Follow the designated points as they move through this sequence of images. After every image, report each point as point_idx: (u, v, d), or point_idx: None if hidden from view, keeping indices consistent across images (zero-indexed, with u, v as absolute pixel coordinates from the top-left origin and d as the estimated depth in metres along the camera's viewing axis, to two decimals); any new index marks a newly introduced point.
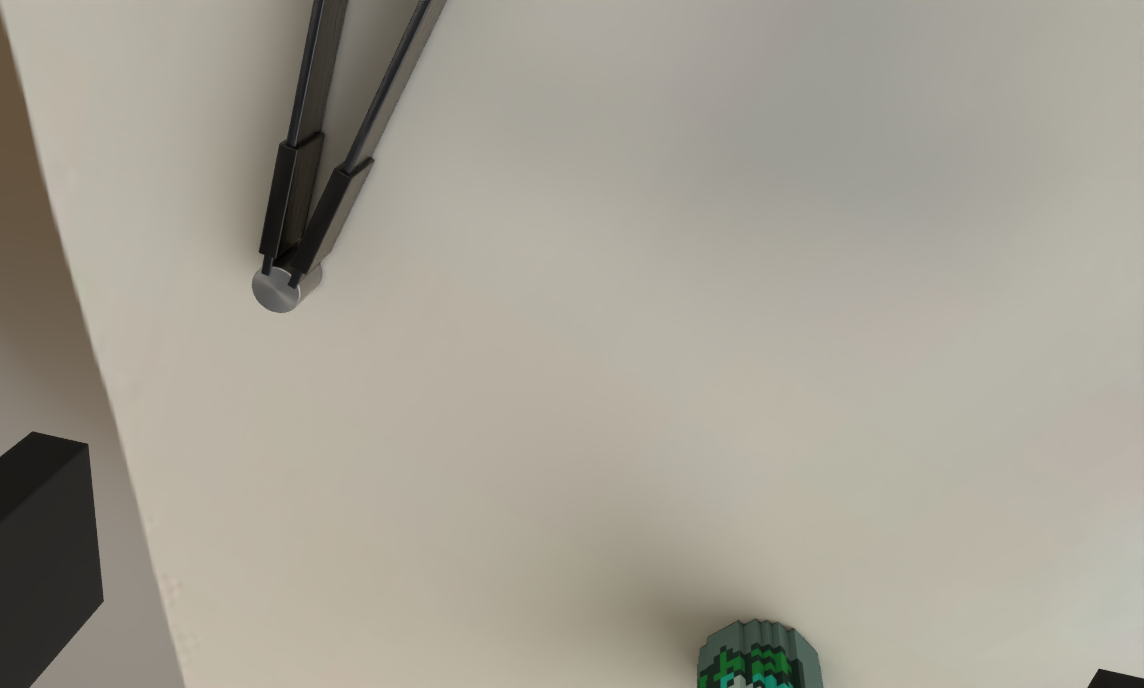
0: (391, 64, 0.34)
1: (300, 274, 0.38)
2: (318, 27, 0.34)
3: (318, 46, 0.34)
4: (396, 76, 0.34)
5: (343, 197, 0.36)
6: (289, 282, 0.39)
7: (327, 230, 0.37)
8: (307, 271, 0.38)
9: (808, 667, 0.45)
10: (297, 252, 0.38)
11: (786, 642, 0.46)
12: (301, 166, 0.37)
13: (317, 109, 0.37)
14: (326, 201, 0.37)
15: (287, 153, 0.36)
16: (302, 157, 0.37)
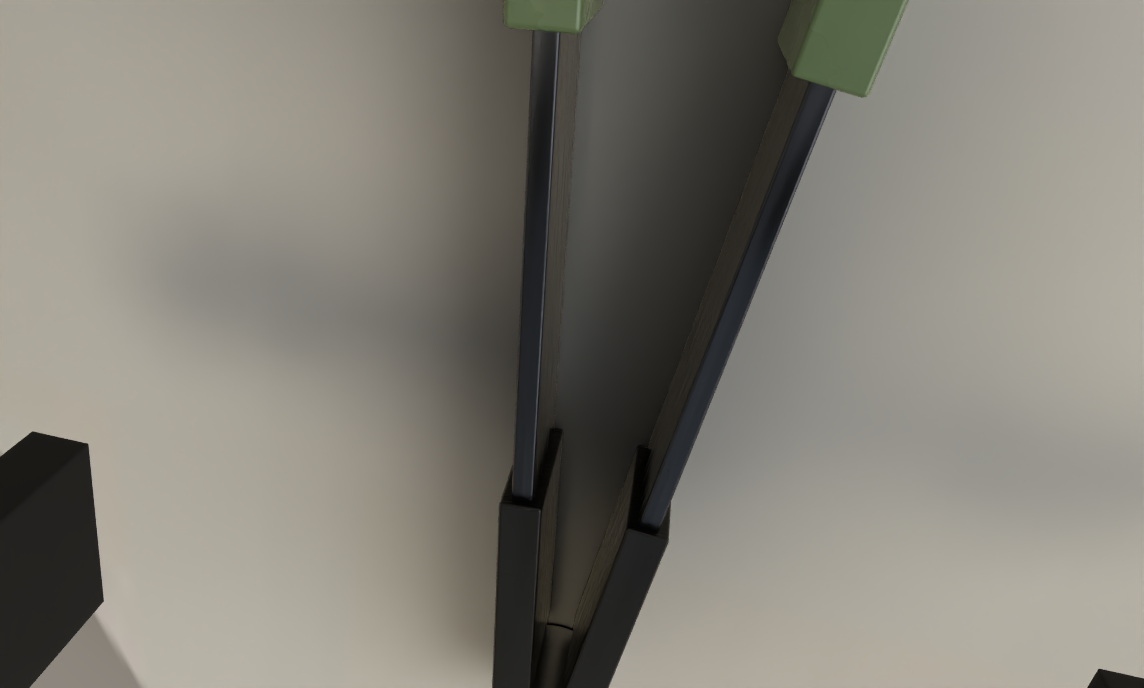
0: (730, 296, 0.14)
1: None
2: (545, 256, 0.14)
3: (547, 292, 0.15)
4: (743, 317, 0.14)
5: (652, 576, 0.17)
6: None
7: (626, 639, 0.18)
8: None
9: None
10: (571, 687, 0.18)
11: None
12: (546, 524, 0.17)
13: (550, 399, 0.17)
14: (618, 591, 0.17)
15: (520, 520, 0.16)
16: (546, 508, 0.17)
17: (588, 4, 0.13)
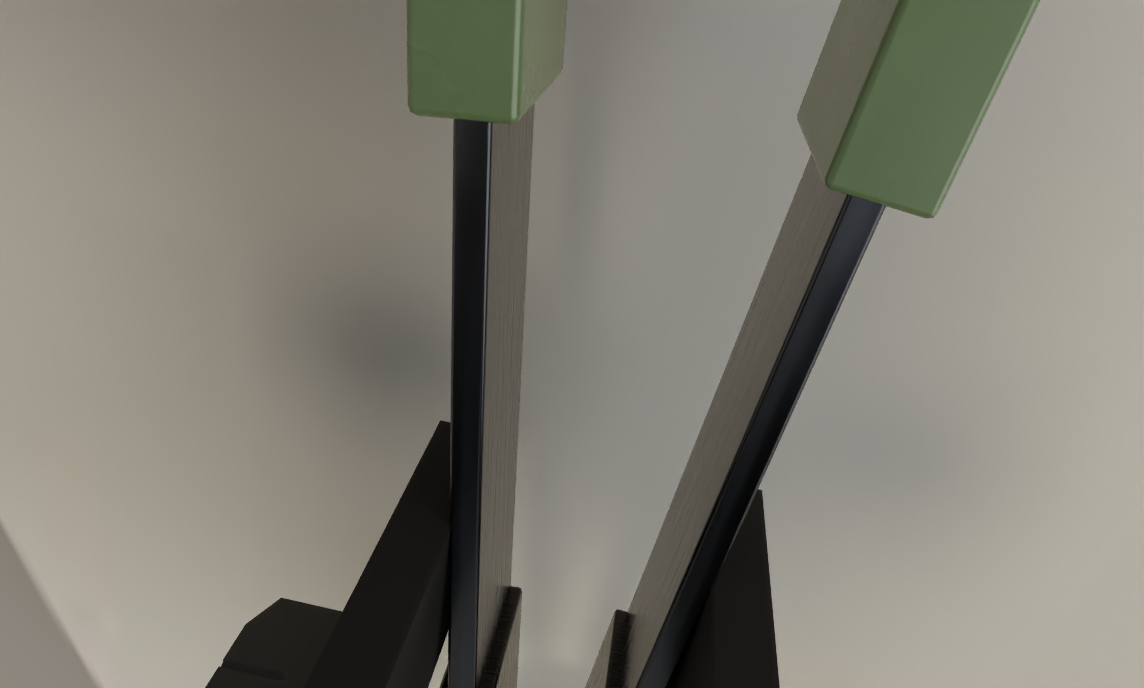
0: (735, 470, 0.10)
1: None
2: (481, 413, 0.10)
3: (489, 453, 0.11)
4: None
5: None
6: None
7: None
8: None
9: None
10: None
11: None
12: None
13: (502, 563, 0.14)
14: None
15: None
16: None
17: (533, 79, 0.09)
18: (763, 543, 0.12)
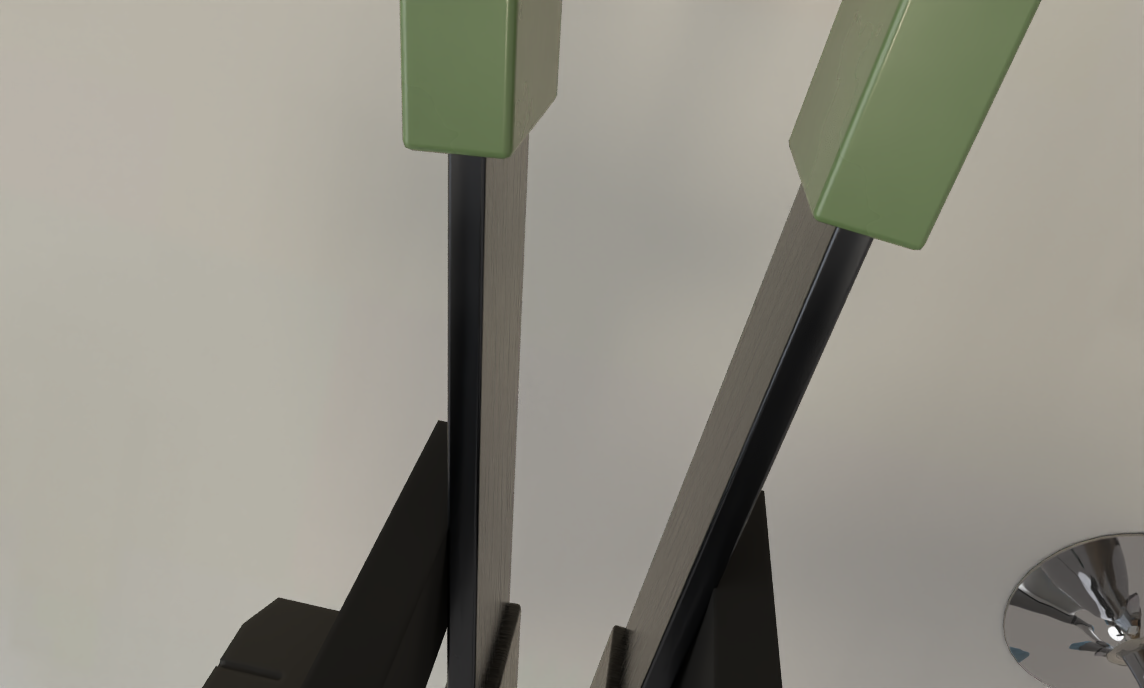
0: (728, 494, 0.10)
1: None
2: (477, 438, 0.11)
3: (485, 477, 0.11)
4: (745, 518, 0.11)
5: None
6: None
7: None
8: None
9: None
10: None
11: None
12: None
13: (500, 581, 0.14)
14: None
15: None
16: None
17: (526, 112, 0.09)
18: (765, 544, 0.12)
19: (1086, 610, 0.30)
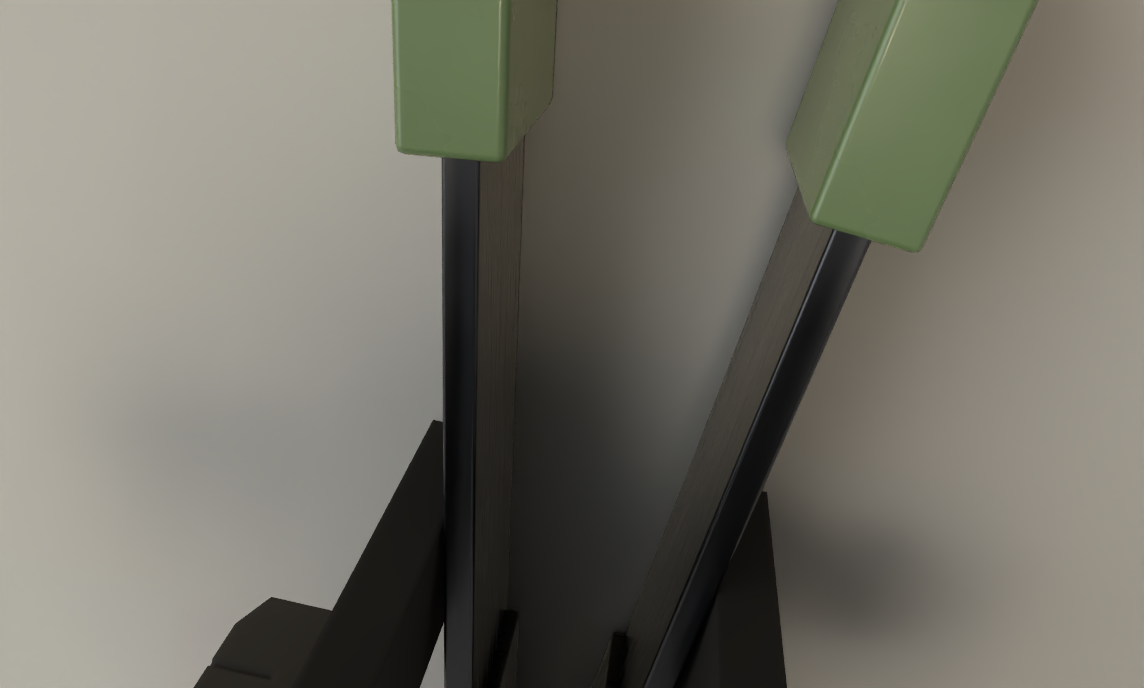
0: (726, 500, 0.10)
1: None
2: (473, 444, 0.11)
3: (482, 483, 0.11)
4: (744, 524, 0.11)
5: None
6: None
7: None
8: None
9: None
10: None
11: None
12: None
13: (498, 589, 0.14)
14: None
15: None
16: None
17: (520, 116, 0.09)
18: (768, 545, 0.12)
19: None
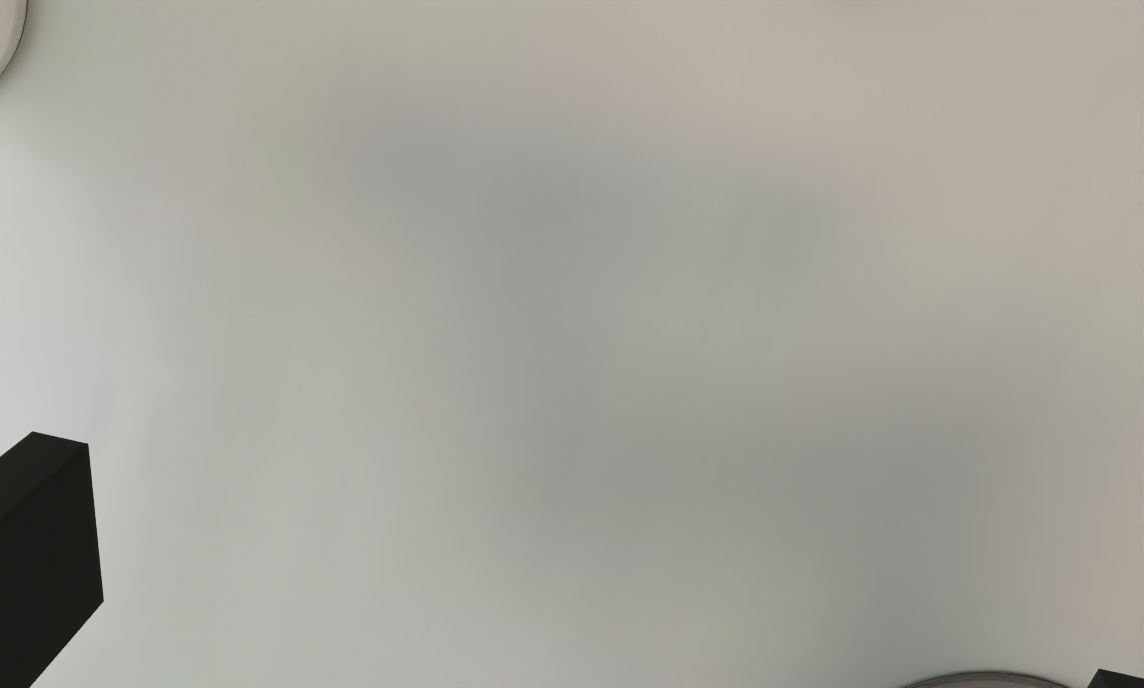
0: None
1: None
2: None
3: None
4: None
5: None
6: None
7: None
8: None
9: None
10: None
11: None
12: None
13: None
14: None
15: None
16: None
17: None
18: None
19: None
